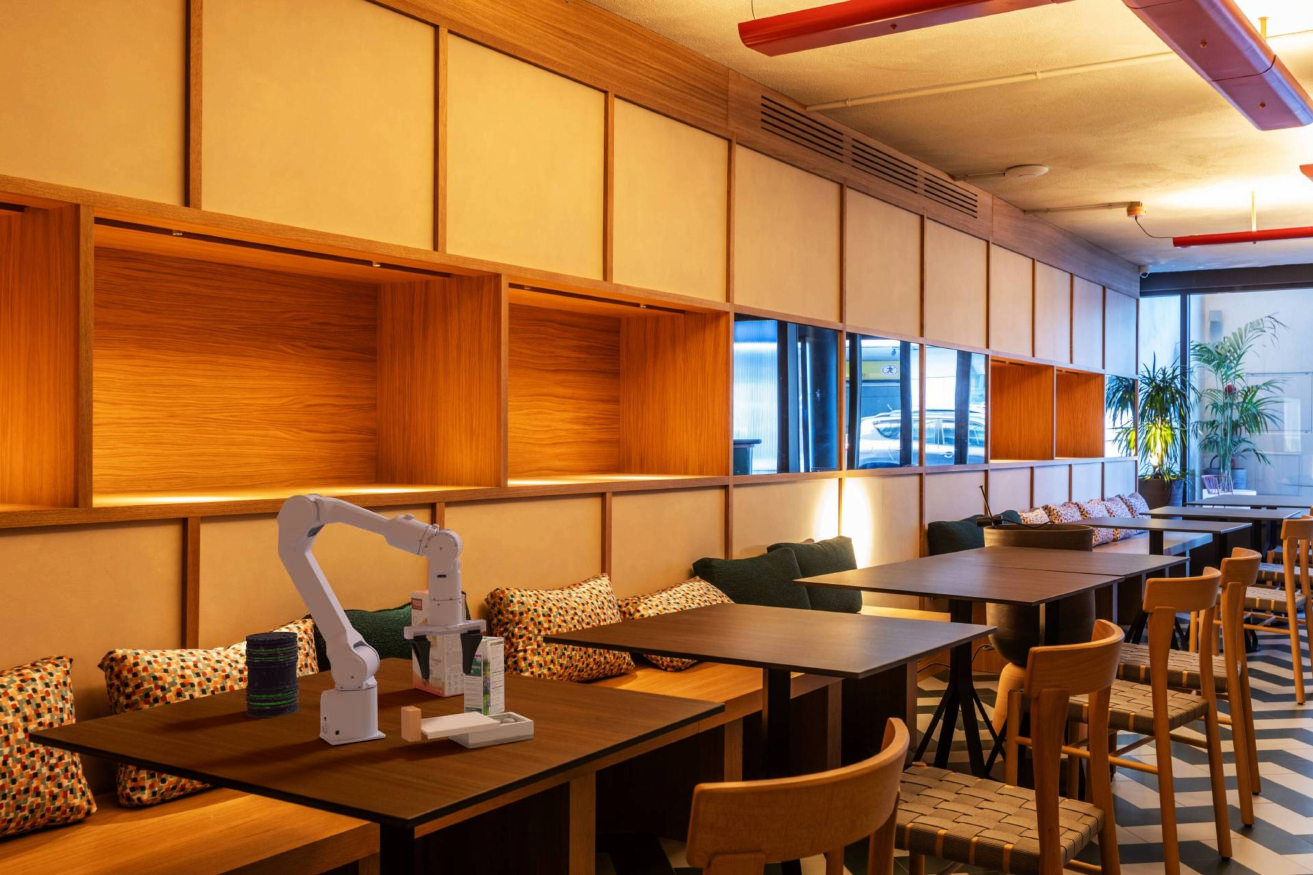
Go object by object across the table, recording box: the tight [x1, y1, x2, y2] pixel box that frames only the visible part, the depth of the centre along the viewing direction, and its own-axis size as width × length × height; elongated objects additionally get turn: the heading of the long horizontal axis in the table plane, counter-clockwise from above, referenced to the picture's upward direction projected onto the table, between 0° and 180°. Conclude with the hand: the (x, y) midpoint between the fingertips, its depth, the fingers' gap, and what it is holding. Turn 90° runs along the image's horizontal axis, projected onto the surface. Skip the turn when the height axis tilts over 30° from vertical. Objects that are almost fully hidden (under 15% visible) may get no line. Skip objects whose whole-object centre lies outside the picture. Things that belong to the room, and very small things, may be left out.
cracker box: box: [410, 589, 467, 698], centre depth 241 cm, size 14×6×21 cm, turn 39°
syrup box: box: [463, 636, 505, 716], centre depth 218 cm, size 6×6×14 cm
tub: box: [448, 711, 535, 749], centre depth 198 cm, size 12×9×3 cm
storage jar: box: [244, 631, 300, 718], centre depth 223 cm, size 10×10×15 cm
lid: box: [400, 705, 500, 743], centre depth 194 cm, size 15×10×5 cm
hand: (446, 675), depth 201 cm, fingers open, 7 cm apart
